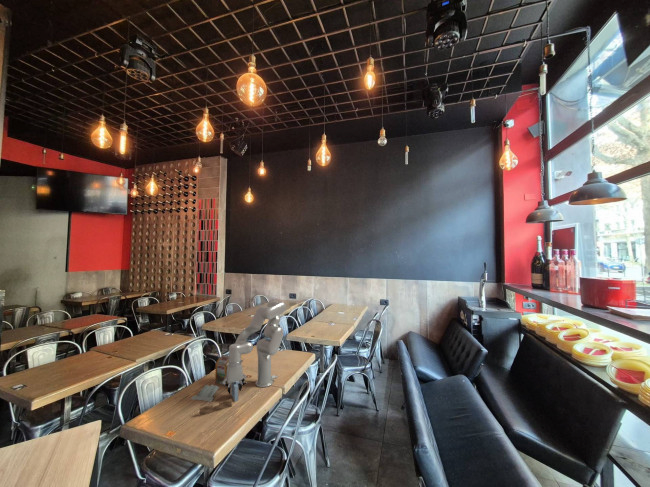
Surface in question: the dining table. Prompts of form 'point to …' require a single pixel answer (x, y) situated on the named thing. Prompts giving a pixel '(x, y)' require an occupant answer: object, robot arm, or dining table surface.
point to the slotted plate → (234, 391)
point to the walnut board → (215, 407)
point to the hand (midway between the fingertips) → (234, 391)
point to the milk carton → (221, 369)
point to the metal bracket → (206, 393)
